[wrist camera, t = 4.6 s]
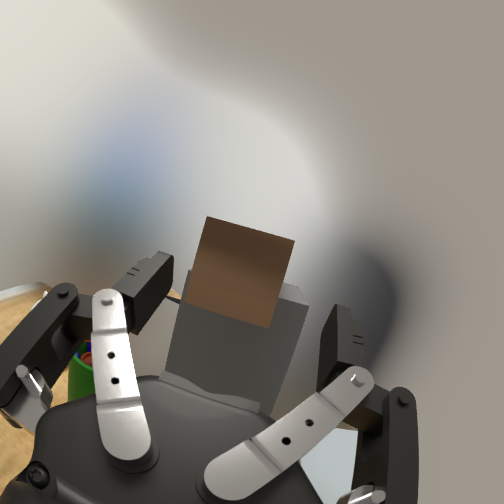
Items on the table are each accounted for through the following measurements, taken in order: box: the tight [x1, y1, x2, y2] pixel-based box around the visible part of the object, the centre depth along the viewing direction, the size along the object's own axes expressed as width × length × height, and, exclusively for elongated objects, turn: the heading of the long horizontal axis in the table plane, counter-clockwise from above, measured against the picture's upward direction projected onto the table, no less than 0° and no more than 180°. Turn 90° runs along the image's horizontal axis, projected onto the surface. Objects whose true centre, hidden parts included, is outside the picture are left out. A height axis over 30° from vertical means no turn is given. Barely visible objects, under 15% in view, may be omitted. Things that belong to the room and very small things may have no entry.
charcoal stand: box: [165, 269, 309, 416], centre depth 27 cm, size 12×9×32 cm
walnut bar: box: [184, 216, 295, 329], centre depth 23 cm, size 24×4×4 cm, turn 175°
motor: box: [68, 340, 96, 402], centre depth 33 cm, size 10×9×20 cm
